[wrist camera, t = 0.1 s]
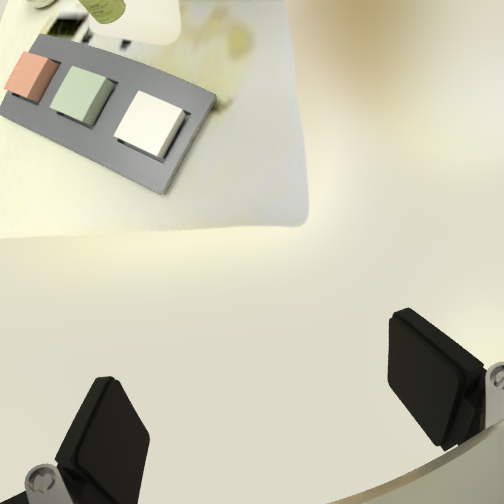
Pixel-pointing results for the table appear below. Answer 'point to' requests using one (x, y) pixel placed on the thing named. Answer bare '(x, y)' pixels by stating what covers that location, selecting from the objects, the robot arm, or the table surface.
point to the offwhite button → (150, 124)
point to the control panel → (111, 111)
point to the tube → (104, 9)
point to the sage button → (82, 95)
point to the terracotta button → (31, 76)
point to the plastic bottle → (39, 3)
